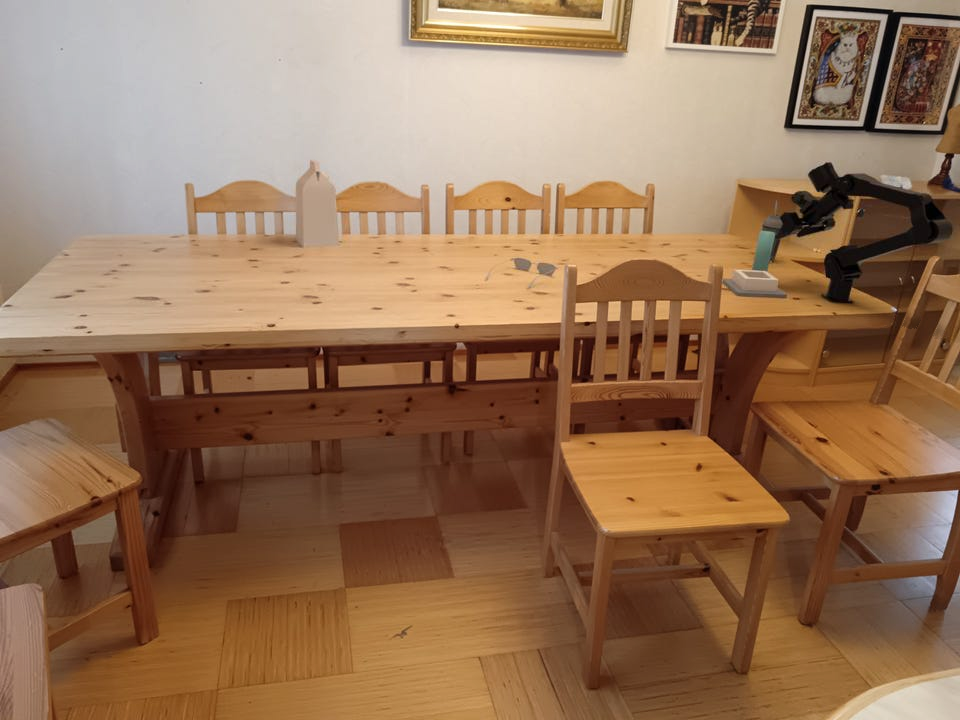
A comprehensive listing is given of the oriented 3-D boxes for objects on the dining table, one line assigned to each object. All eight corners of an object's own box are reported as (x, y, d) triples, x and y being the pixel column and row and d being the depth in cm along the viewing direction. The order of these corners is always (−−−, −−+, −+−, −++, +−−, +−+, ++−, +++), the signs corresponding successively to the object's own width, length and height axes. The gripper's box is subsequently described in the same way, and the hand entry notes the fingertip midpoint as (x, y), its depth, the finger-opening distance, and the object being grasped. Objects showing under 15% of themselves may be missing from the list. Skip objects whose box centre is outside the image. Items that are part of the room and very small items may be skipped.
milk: (296, 239, 237) (291, 158, 227) (330, 237, 241) (327, 158, 231) (303, 247, 227) (299, 163, 217) (339, 245, 231) (337, 163, 221)
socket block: (786, 298, 201) (789, 282, 199) (737, 295, 201) (740, 280, 199) (767, 283, 214) (770, 269, 212) (721, 281, 214) (724, 267, 212)
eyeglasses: (557, 278, 210) (558, 265, 209) (529, 292, 196) (530, 278, 194) (511, 268, 217) (512, 256, 216) (481, 281, 203) (482, 268, 201)
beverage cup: (764, 263, 237) (776, 203, 229) (750, 257, 243) (762, 199, 236) (782, 263, 239) (795, 203, 231) (769, 257, 245) (781, 199, 238)
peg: (768, 275, 223) (777, 234, 218) (754, 274, 223) (763, 233, 218) (763, 271, 227) (771, 231, 222) (749, 270, 227) (757, 230, 222)
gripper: (834, 181, 208) (795, 213, 221) (791, 183, 199) (753, 216, 212) (853, 213, 204) (812, 243, 217) (809, 216, 196) (770, 248, 209)
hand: (787, 237), depth 214 cm, fingers open, 9 cm apart
